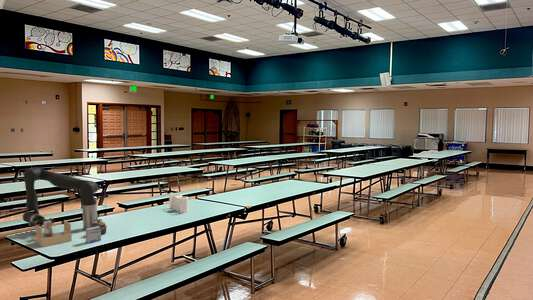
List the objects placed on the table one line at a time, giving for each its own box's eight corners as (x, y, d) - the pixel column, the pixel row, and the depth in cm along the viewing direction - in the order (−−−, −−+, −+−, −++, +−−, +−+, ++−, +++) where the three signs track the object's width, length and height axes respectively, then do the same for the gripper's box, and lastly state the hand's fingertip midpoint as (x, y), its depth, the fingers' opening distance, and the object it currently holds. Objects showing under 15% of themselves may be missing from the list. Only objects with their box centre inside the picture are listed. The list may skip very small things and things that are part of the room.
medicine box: (88, 243, 245) (88, 229, 244) (85, 242, 248) (85, 228, 247) (101, 240, 251) (100, 227, 250) (98, 239, 254) (97, 226, 253)
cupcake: (93, 237, 259) (92, 221, 258) (90, 233, 267) (89, 219, 266) (108, 234, 265) (108, 219, 264) (105, 231, 272) (104, 217, 272)
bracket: (191, 212, 329) (190, 197, 328) (179, 213, 324) (179, 199, 323) (179, 206, 350) (179, 193, 349) (169, 208, 344) (168, 194, 343)
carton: (59, 233, 268) (58, 217, 268) (71, 241, 250) (71, 223, 250) (31, 238, 257) (30, 221, 256) (42, 246, 239) (41, 229, 238)
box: (50, 235, 261) (49, 220, 261) (52, 237, 258) (51, 222, 257) (44, 236, 259) (43, 221, 258) (46, 238, 255) (45, 223, 255)
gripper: (25, 216, 269) (32, 220, 258) (48, 213, 279) (55, 217, 268) (26, 227, 270) (32, 232, 258) (49, 223, 280) (56, 227, 268)
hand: (44, 224), depth 263 cm, fingers open, 8 cm apart
